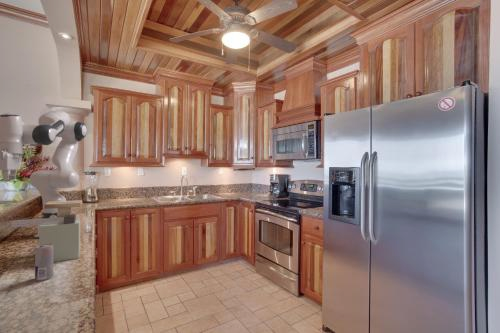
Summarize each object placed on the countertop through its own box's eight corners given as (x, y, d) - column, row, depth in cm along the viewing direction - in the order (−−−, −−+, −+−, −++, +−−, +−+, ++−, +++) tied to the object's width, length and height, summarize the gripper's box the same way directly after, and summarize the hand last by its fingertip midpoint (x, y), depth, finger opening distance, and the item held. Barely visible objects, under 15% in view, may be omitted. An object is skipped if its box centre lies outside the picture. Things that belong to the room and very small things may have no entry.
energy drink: (43, 274, 98) (43, 243, 98) (56, 275, 98) (57, 244, 98) (30, 281, 93) (31, 248, 93) (45, 281, 93) (45, 248, 93)
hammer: (14, 225, 111) (14, 218, 111) (76, 220, 122) (76, 214, 122) (9, 228, 105) (9, 221, 105) (74, 223, 116) (74, 216, 116)
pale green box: (42, 258, 116) (43, 222, 116) (79, 253, 123) (80, 219, 123) (39, 264, 109) (39, 226, 109) (78, 258, 116) (78, 223, 116)
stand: (47, 250, 126) (48, 201, 126) (81, 246, 133) (82, 200, 133) (43, 256, 118) (44, 204, 118) (80, 251, 125) (80, 202, 125)
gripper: (11, 148, 109) (11, 181, 109) (24, 151, 126) (24, 179, 126) (-9, 148, 106) (-9, 181, 106) (7, 150, 123) (7, 179, 123)
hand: (9, 180), depth 116 cm, fingers open, 8 cm apart
